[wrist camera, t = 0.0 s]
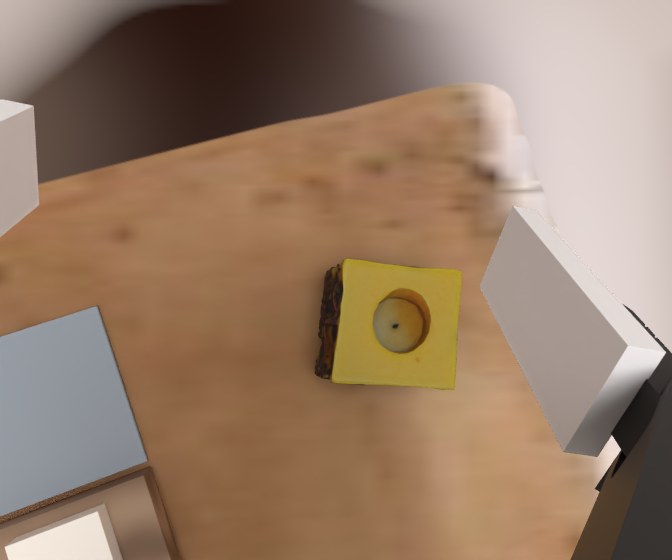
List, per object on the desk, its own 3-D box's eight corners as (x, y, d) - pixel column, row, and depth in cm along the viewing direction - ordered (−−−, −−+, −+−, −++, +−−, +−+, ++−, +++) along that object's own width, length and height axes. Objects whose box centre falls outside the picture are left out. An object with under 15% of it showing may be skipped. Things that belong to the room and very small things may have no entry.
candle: (313, 375, 50) (327, 386, 41) (323, 270, 51) (339, 255, 42) (417, 384, 52) (455, 396, 42) (425, 280, 53) (463, 269, 43)
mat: (148, 459, 47) (147, 461, 47) (-17, 521, 45) (-21, 524, 44) (98, 306, 48) (96, 306, 47) (-68, 359, 46) (-71, 359, 45)
